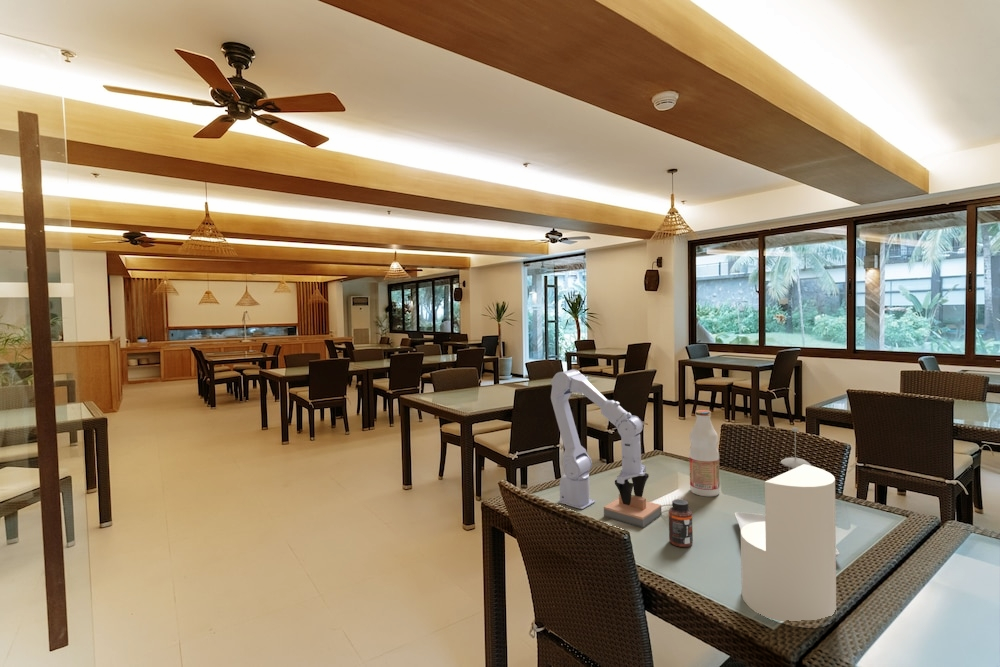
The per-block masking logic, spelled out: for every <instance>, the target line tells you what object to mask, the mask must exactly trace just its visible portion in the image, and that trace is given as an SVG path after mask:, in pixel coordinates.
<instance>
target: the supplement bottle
mask: <svg viewBox="0 0 1000 667" xmlns="http://www.w3.org/2000/svg"><path fill="white" fill-rule="evenodd" d="M671 506H672V507H670V508H668V509H669V510H668V535H669V536H668V539H669V542H670V543H671V545H673V546H675V547H679V548H688V547H691V546H692V545H693V536H694V535H693V512H692V510H691V509H689V502H688V501H687V500H685V499H681V498H680V499H678V498H677V499H673V500H672V504H671Z"/></svg>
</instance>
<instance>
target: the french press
mask: <svg viewBox="0 0 1000 667" xmlns="http://www.w3.org/2000/svg"><path fill="white" fill-rule="evenodd" d="M791 431H792V432H794V457H785V458H783V459H782V460H781V461H780V463H781V464H782V465H783V466H785V467H788V471H790V470H791V469H794V468H796V467H799V466H801V465H803V464H806V465H810V466H812V464H811V463H810V462H809V461H807V460H805V459H802V458H799V457H797V455H796V454H797V442H796V441H797V438H796V436H797V433H798V432H800V429H799V428H798V427H796V426H795V427H794V426H793V427H791ZM796 432H797V433H796ZM790 468H791V469H790Z"/></svg>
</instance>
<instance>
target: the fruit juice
mask: <svg viewBox="0 0 1000 667" xmlns="http://www.w3.org/2000/svg"><path fill="white" fill-rule="evenodd" d="M695 416H696V418H695V422H694V425H693V427H692V429H691V430H690V432H689V441H690V447H689V454H688V455H689V456H688V457H689V488H690V492H691V493H693V494H694V495H696V496H700V497H701V496H702V497H716V496H718V495H719V494H720V491H721V490H720V487H721V486H720V452H719V449H718V443H719V435H718V432H717V431H716V430H715V427H714V425H713V422H712V420H711V417H712V411H710V410H708V409H707V410H704V409H699V410H695Z"/></svg>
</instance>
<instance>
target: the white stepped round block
mask: <svg viewBox="0 0 1000 667" xmlns="http://www.w3.org/2000/svg"><path fill="white" fill-rule="evenodd" d="M764 509H765V510H764V514H765V521H763V522H754V523H750V524H747V525H745V526H744V527H743V528H742V529H741V531H740V566H741V567H740V571H741V573H740V575H741V576H740V577H741V580H740V581H741V582H740V583H741V597H742V599H743V601H744V602H745V604H746V605H747V606H748V607H749V608H750V609H751V610H752V611H754V612H755V613H756V612H757V613H756V614H758V613H759V614H758V615H760V614H761V615H760V616H762V615H763V616H766V617H768V618H771V619H775V620H780V621H785V620H789V621H801V620H817V619H821V618H825V617H828V616H832V615H833V614H834V612H835V610H836V611H837V561H836V560H837V557H836V548H837V546H836V545H837V544H836V543H837V542H836V539H837V538H836V537H837V536H836V531H837V530H836V528H837V527H836V525H837V524H836V478H835V476H834V475H833V474H832V473H831V472H829V471H826V469H822V468H819V467H816V466H814V465H811V466H810V465H806V464H803V465H801V466H799V467H796V468H791V469H790V471H789V470H788V471H786V472H783V473H781V474H779V475H776V476H774V477H772V478H769V479H768V480H766V481H764ZM763 616H762V617H763Z"/></svg>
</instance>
